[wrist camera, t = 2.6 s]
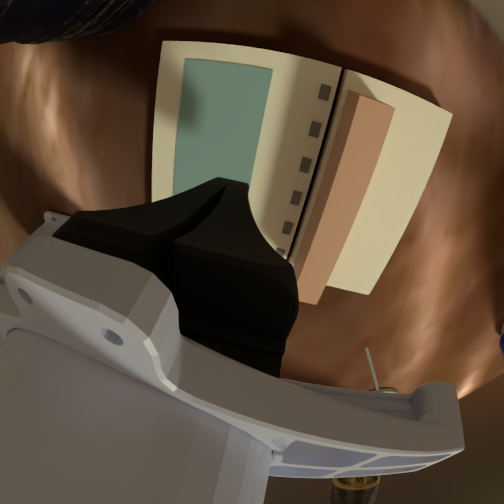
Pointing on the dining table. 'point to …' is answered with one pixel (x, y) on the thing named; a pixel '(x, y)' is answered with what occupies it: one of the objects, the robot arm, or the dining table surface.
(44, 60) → the dining table surface
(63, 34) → the storage jar
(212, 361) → the robot arm
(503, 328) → the beer can
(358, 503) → the sauce bottle
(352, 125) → the cream and brown block
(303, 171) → the cream teal notepad
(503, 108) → the dining table surface
